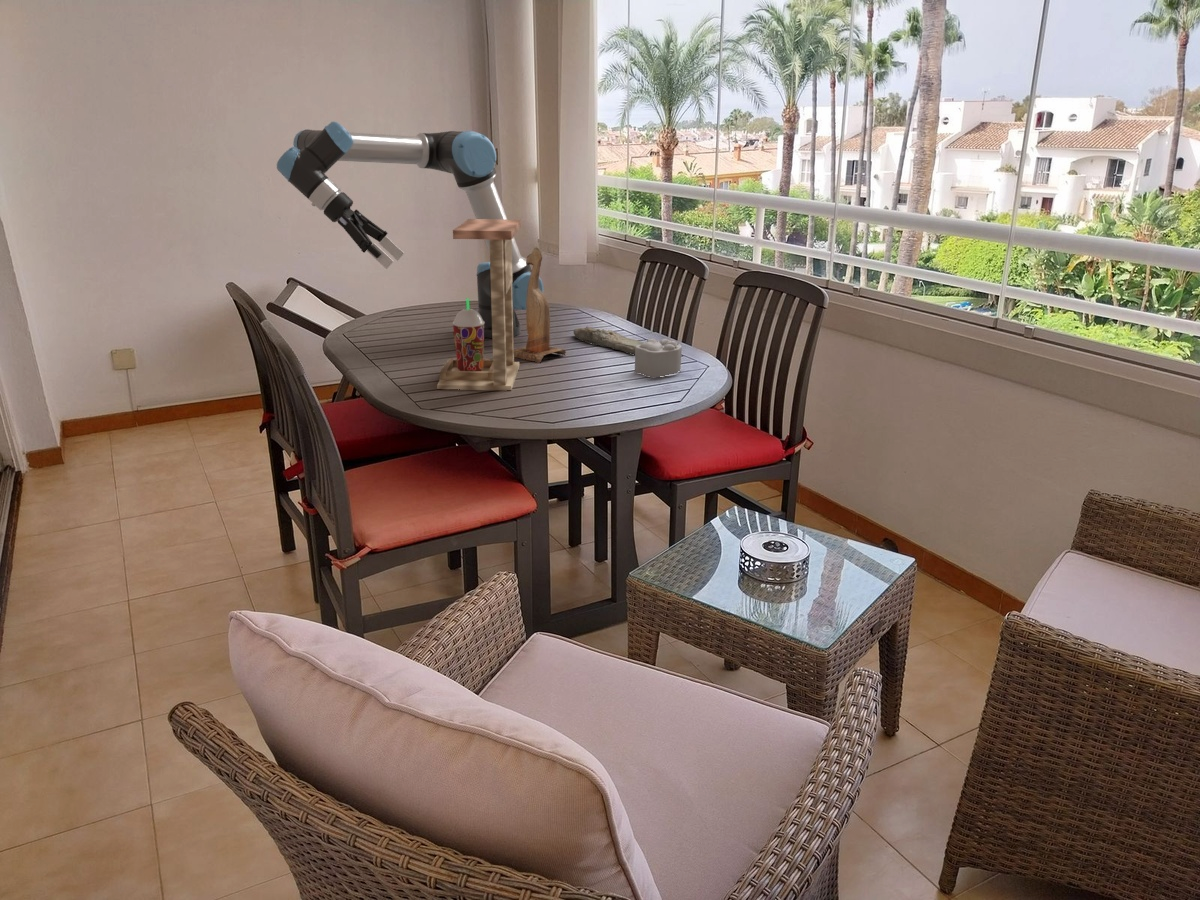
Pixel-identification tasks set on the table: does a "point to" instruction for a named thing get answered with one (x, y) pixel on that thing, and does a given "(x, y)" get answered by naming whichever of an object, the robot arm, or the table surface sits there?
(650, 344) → the lumpy-topped squat cylinder
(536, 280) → the bird sculpture
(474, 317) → the smoothie
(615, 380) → the table surface
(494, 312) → the wooden pedestal stand
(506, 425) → the table surface
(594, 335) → the long grey stone
